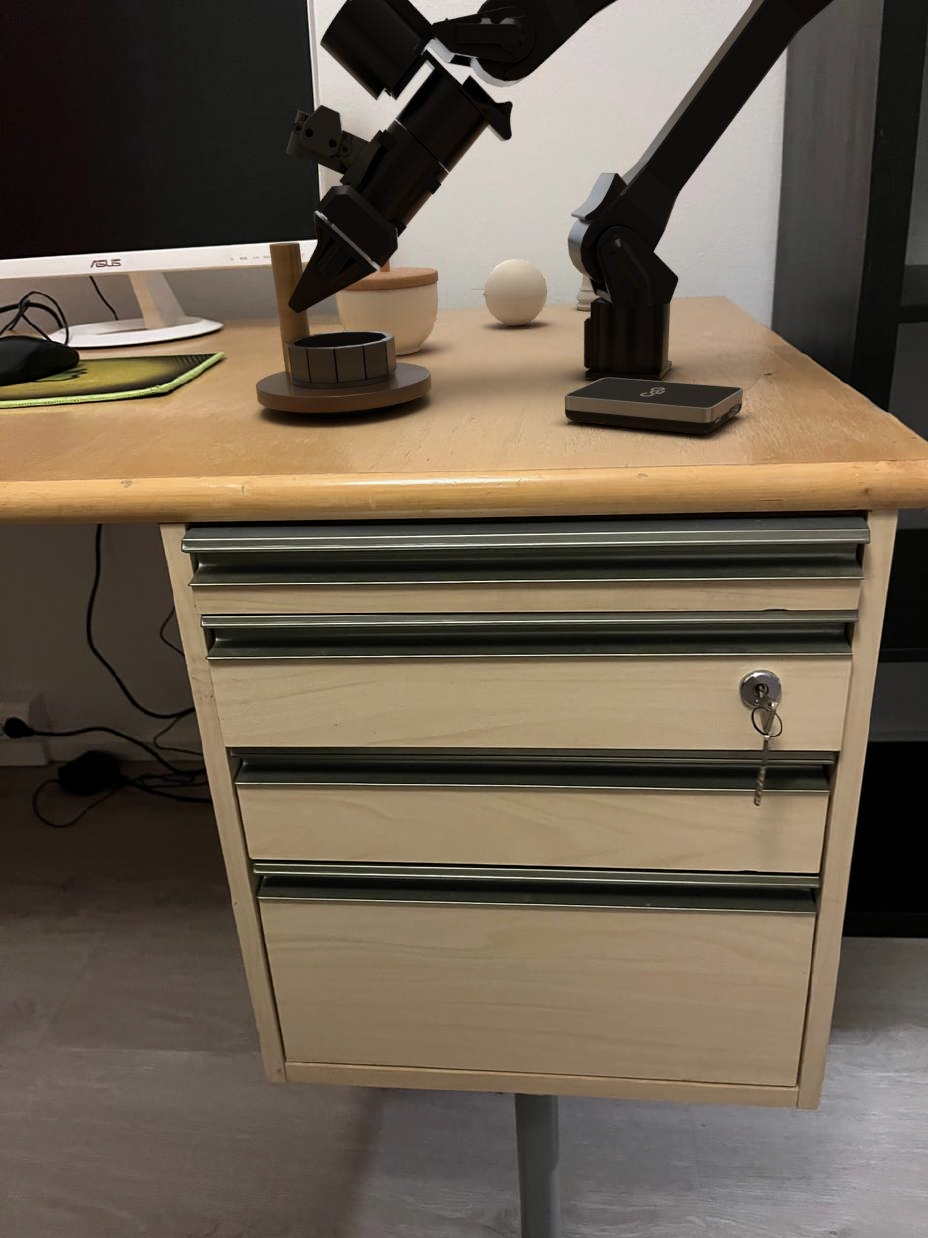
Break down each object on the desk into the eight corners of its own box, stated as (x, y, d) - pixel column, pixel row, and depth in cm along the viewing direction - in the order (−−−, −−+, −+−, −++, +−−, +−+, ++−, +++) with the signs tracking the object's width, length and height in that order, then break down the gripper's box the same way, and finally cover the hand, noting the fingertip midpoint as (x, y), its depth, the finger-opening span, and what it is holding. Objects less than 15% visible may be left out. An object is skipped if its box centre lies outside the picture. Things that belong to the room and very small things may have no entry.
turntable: (467, 385, 77) (460, 237, 72) (332, 421, 68) (313, 254, 63) (355, 369, 86) (342, 236, 81) (223, 399, 77) (199, 251, 72)
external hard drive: (708, 439, 63) (710, 409, 62) (560, 423, 69) (559, 395, 68) (743, 415, 68) (745, 387, 67) (602, 403, 74) (603, 376, 73)
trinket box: (429, 359, 94) (422, 258, 90) (326, 361, 96) (315, 262, 92) (452, 341, 104) (447, 249, 100) (358, 342, 106) (349, 252, 102)
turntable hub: (411, 395, 80) (410, 383, 79) (369, 419, 73) (368, 406, 72) (326, 393, 82) (325, 381, 82) (278, 415, 76) (276, 402, 75)
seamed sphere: (561, 323, 111) (560, 256, 108) (515, 332, 107) (514, 262, 104) (502, 317, 118) (500, 254, 115) (457, 325, 114) (454, 260, 111)
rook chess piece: (574, 311, 120) (574, 243, 116) (576, 306, 124) (576, 240, 120) (610, 310, 119) (611, 241, 116) (611, 305, 123) (612, 238, 119)
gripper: (348, 77, 81) (236, 226, 85) (333, 52, 64) (195, 239, 68) (446, 175, 84) (334, 312, 89) (457, 176, 67) (318, 345, 72)
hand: (298, 301), depth 79 cm, fingers open, 9 cm apart
